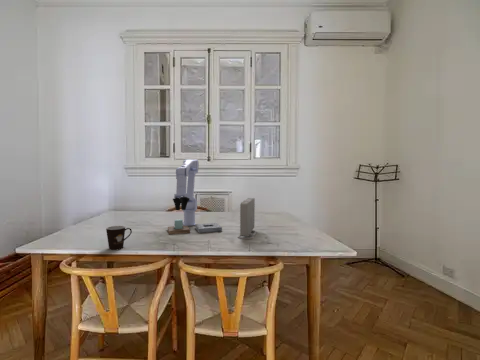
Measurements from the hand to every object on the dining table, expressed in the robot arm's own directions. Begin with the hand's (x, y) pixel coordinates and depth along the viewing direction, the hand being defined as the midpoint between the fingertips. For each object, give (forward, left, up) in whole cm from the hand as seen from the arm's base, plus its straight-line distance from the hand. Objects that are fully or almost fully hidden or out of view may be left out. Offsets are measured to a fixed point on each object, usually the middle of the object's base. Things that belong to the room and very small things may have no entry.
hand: (180, 210), depth 177 cm
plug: (-4, -1, -14) cm, 14 cm away
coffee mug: (+23, -32, -14) cm, 42 cm away
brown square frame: (-4, -1, -13) cm, 14 cm away
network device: (+16, +36, -14) cm, 42 cm away
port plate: (-3, +17, -13) cm, 22 cm away
